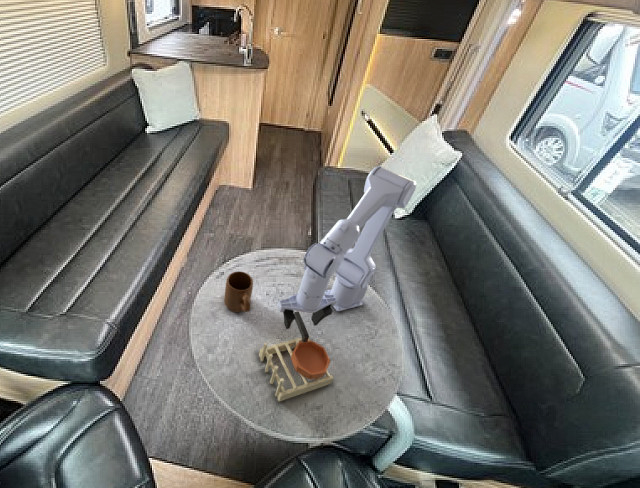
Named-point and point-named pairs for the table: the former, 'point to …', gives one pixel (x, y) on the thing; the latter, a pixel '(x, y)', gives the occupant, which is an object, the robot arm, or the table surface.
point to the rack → (295, 390)
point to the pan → (309, 354)
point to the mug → (238, 292)
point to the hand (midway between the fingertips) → (300, 324)
